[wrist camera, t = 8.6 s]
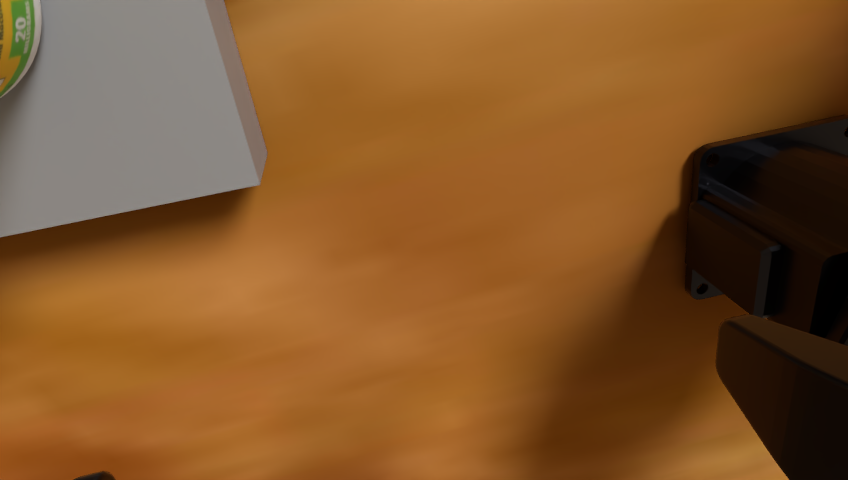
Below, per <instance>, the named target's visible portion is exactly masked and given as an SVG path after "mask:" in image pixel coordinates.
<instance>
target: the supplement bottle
mask: <svg viewBox="0 0 848 480" xmlns="http://www.w3.org/2000/svg"><path fill="white" fill-rule="evenodd" d="M41 26H42V15H41V4H40V0H0V98H1V97H3V96H4V95H5V94H7V93H8V92H9V91H10V90H11V89H12V88H14V87H15V86H16V85H17V83H18V82H19V81H20V80H21V79H22V77H23V76H24V75H25V74H26V72H27V71H28V69H29V68H30V66H31V64H32V62H33V60H34V57H35V55H36V52H37V49H38V45H39V42H40V35H41Z"/></svg>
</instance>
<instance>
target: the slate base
mask: <svg viewBox="0 0 848 480" xmlns="http://www.w3.org/2000/svg"><path fill="white" fill-rule="evenodd" d="M40 4H41V15H42V26H41V35H40V42H39V45H38V49H37V52H36V55H35V57H34V60H33V62H32V64H31V66H30V68H29V69H28V71H27V72H26V74H25V75H24V76H23V77H22V79H21V80H20V81H19V82H18V83H17V85H16V86H15V87H14V88H12V89H11V90H10V91H9V92H8V93H7V94H5V95H4V96H3V97H1V98H0V237H4V236H9V235H14V234H19V233H24V232H29V231H34V230H39V229H44V228H49V227H54V226H59V225H64V224H68V223H73V222H78V221H83V220H88V219H93V218H98V217H103V216H108V215H113V214H118V213H123V212H128V211H133V210H138V209H143V208H147V207H152V206H157V205H162V204H167V203H172V202H177V201H182V200H187V199H192V198H197V197H202V196H207V195H212V194H217V193H222V192H226V191H231V190H236V189H241V188H246V187H251V186H256V185H260V182H261V178H262V174H263V170H264V166H265V162H266V158H267V150H266V146H265V143H264V139H263V136H262V132H261V129H260V125H259V122H258V118H257V115H256V111H255V108H254V104H253V101H252V97H251V94H250V90H249V87H248V83H247V80H246V76H245V73H244V70H243V66H242V63H241V59H240V56H239V52H238V49H237V45H236V42H235V38H234V35H233V31H232V28H231V24H230V21H229V17H228V14H227V10H226V7H225V3H224V0H40Z"/></svg>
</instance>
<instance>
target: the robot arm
mask: <svg viewBox="0 0 848 480" xmlns="http://www.w3.org/2000/svg"><path fill="white" fill-rule="evenodd" d="M847 127H848V115H842V116H837V117H832V118H828V119H823V120H818V121H813V122H809V123H804V124H799V125H794V126H790V127H785V128H780V129H776V130H771V131H766V132H761V133H757V134H752V135H747V136H742V137H738V138H733V139H728V140H723V141H719V142H714V143H709V144H706V145H703V146H701V147H700V148H699V149H698V150H697V152H696V153H695V155H694V159H693V173H692V188H691V204H690V207H689V209H688V224H687V239H686V255H685V263H686V264H687V265H686V280H685V289H686V291H687V293H688V294H689V295H691V296H692V297H693V298H695V299H705V298H709V297H713V296H717V295H721V294H725V295H726V296H728V297H729V298H730V299H731V300H733V301H734V302H735V303H736V304H738V305H739V306H740V307H742V308H743V309H744V310H745V311H747V312H748V313H749V314H751V315H741V316H737V317H733V318H729V319H726V320H724V321H722V323H721V324H720V326H719V333H718V343H717V353H716V369H717V372H718V375H719V377H720V379H721V381H722V382H723V384H724V385H725V387H726V388H727V390H728V391H729V393H730V394H731V396H732V397H733V399H734V400H735V402H736V403H737V405H738V406H739V408H740V409H741V411H742V412H743V414H744V415H745V417H746V418H747V420H748V421H749V423H750V424H751V426H752V427H753V429H754V430H755V432H756V433H757V435H758V436H759V438H760V439H761V441H762V442H763V444H764V445H765V447H766V448H767V450H768V451H769V453H770V454H771V456H772V457H773V458H774V460H775V461H776V463H777V464H778V466H779V467H780V468H781V469H782V471H783V472H784V473H785V475H786V476H787V477H788V478H789V480H848V128H847ZM846 128H847V130H846V131H845V129H846ZM711 154H712V155H713V156H712V159H711V160H710V161H709V162H708V163H706V161H707V158H708V157H709V156H710V155H711ZM701 284H702V285H701ZM699 285H701V286H700V287H699V288H698V289H697V287H698V286H699ZM765 318H767V319H768V320H766V319H765ZM74 480H115V478H114V476H113V475H112V474H111V473H109V472H107V471H101V472H97V473H92V474H88V475H84V476H80V477H78V478H75V479H74Z"/></svg>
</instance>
